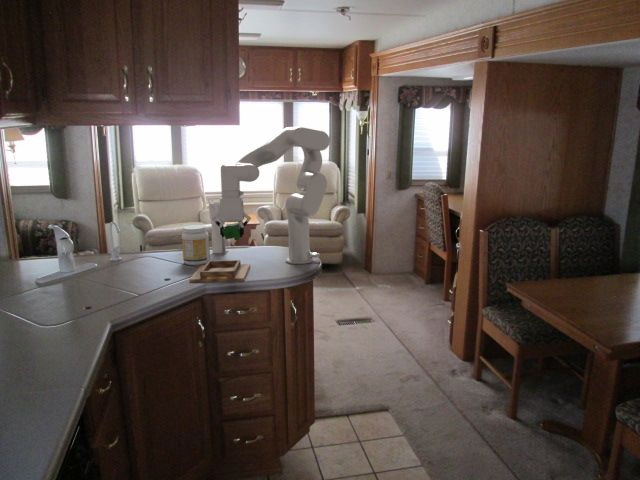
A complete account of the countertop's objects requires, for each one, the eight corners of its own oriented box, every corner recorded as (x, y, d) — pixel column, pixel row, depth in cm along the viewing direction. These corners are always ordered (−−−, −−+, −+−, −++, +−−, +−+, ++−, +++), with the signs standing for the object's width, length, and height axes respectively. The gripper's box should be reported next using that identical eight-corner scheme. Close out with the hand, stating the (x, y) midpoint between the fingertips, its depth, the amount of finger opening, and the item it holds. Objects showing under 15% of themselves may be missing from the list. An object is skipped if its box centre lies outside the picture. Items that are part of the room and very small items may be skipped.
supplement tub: (190, 258, 238) (188, 224, 234) (214, 259, 235) (212, 224, 232) (178, 265, 226) (176, 229, 222) (203, 266, 224) (201, 229, 220)
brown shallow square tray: (250, 266, 221) (249, 258, 221) (244, 281, 200) (243, 272, 199) (201, 267, 221) (200, 259, 220) (189, 282, 199) (188, 273, 199)
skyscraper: (208, 254, 246) (205, 199, 240) (213, 251, 254) (209, 197, 248) (225, 254, 245) (222, 198, 239) (229, 251, 253) (226, 196, 247)
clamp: (230, 246, 212) (226, 226, 213) (244, 243, 212) (240, 223, 213) (224, 241, 200) (219, 220, 202) (238, 237, 200) (233, 216, 202)
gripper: (252, 193, 208) (253, 234, 211) (211, 193, 207) (212, 235, 210) (251, 195, 200) (252, 238, 204) (208, 195, 200) (209, 238, 203)
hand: (232, 236), depth 207 cm, fingers closed on clamp, 7 cm apart
